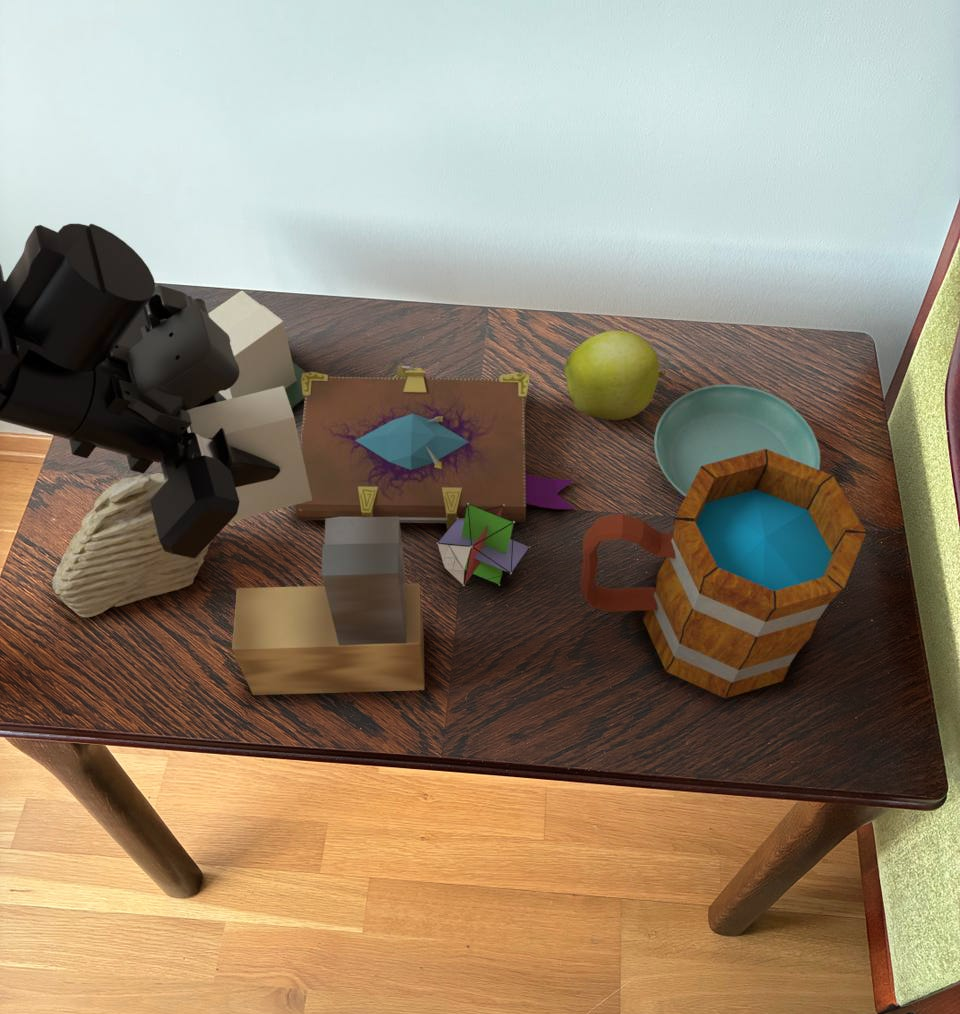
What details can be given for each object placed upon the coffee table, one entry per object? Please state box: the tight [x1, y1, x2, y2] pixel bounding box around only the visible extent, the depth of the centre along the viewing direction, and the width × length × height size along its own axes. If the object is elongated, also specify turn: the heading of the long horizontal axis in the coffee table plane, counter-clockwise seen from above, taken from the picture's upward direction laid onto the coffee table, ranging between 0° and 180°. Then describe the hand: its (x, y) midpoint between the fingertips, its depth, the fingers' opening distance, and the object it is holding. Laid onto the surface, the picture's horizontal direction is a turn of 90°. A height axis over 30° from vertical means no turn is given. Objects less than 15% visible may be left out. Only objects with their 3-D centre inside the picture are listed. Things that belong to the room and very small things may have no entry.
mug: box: [580, 449, 867, 699], centre depth 79 cm, size 20×14×15 cm
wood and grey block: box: [231, 517, 426, 696], centre depth 75 cm, size 14×5×18 cm, turn 92°
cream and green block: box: [208, 290, 307, 410], centre depth 93 cm, size 8×10×8 cm
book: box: [294, 362, 576, 531], centre depth 91 cm, size 16×25×5 cm, turn 90°
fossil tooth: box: [51, 472, 211, 618], centre depth 82 cm, size 12×6×15 cm
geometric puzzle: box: [436, 503, 531, 587], centre depth 85 cm, size 7×7×8 cm
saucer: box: [653, 383, 821, 498], centre depth 92 cm, size 15×15×3 cm
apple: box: [563, 330, 666, 421], centre depth 92 cm, size 8×9×8 cm
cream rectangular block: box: [186, 386, 312, 523], centre depth 76 cm, size 7×3×10 cm, turn 109°
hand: (271, 456), depth 76 cm, fingers closed on cream rectangular block, 3 cm apart
